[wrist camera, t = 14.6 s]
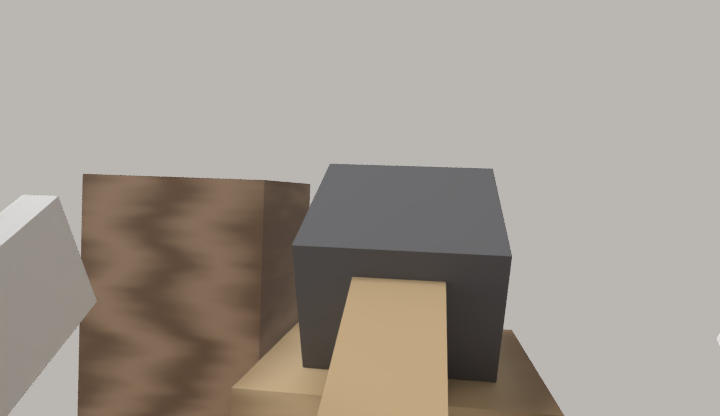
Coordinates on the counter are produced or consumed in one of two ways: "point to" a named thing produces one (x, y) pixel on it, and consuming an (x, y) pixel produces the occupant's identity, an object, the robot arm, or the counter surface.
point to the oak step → (465, 398)
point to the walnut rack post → (183, 289)
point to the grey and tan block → (401, 286)
